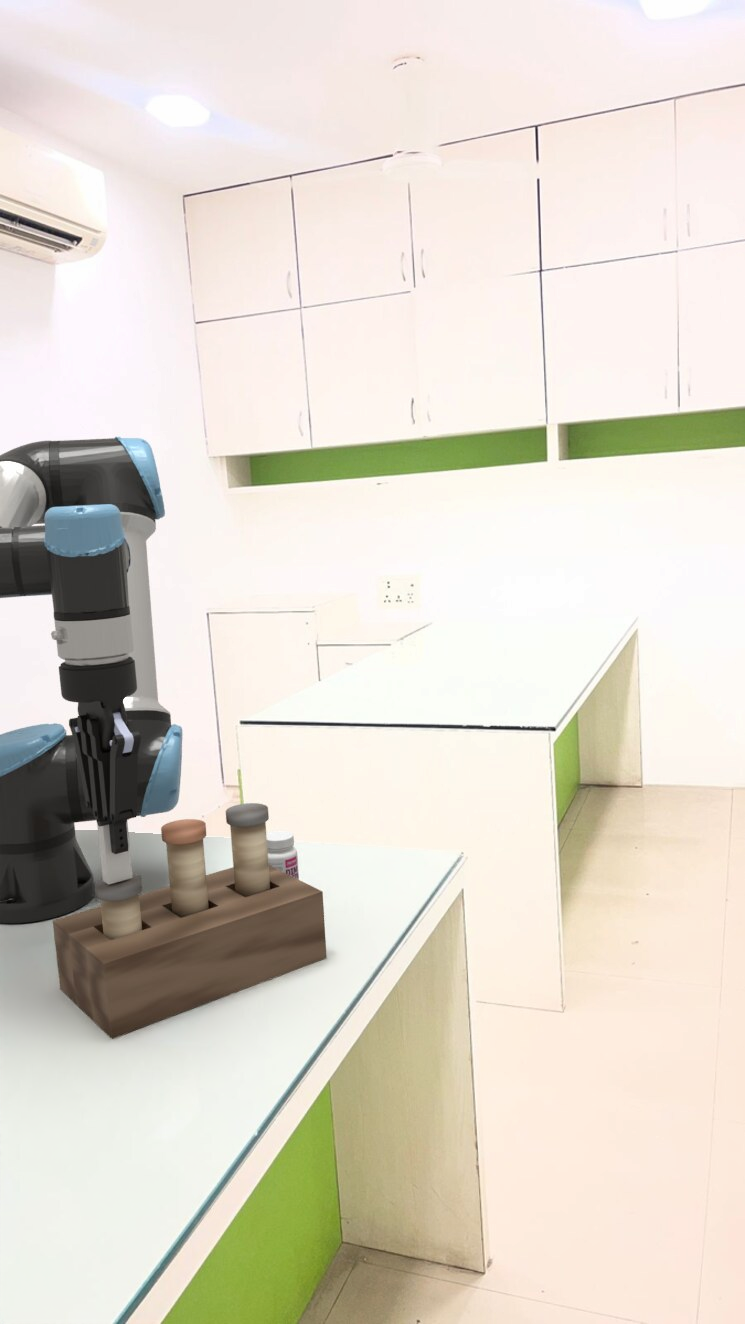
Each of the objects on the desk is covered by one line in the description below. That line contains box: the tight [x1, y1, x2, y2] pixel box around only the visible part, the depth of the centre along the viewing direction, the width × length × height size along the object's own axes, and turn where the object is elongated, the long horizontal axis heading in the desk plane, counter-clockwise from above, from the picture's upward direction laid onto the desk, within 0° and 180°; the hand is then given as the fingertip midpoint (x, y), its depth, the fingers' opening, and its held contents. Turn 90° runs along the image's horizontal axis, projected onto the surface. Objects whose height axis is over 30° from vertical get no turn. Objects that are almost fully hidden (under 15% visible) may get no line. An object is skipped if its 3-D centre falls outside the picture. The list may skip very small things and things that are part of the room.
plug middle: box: [160, 818, 209, 918], centre depth 114 cm, size 5×5×12 cm
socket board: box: [52, 865, 328, 1040], centre depth 116 cm, size 14×26×8 cm, turn 127°
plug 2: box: [225, 802, 270, 897], centre depth 119 cm, size 5×5×12 cm
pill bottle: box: [266, 830, 300, 880], centre depth 136 cm, size 5×5×8 cm
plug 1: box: [94, 872, 143, 940], centre depth 110 cm, size 5×5×12 cm
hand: (117, 879), depth 109 cm, fingers closed
